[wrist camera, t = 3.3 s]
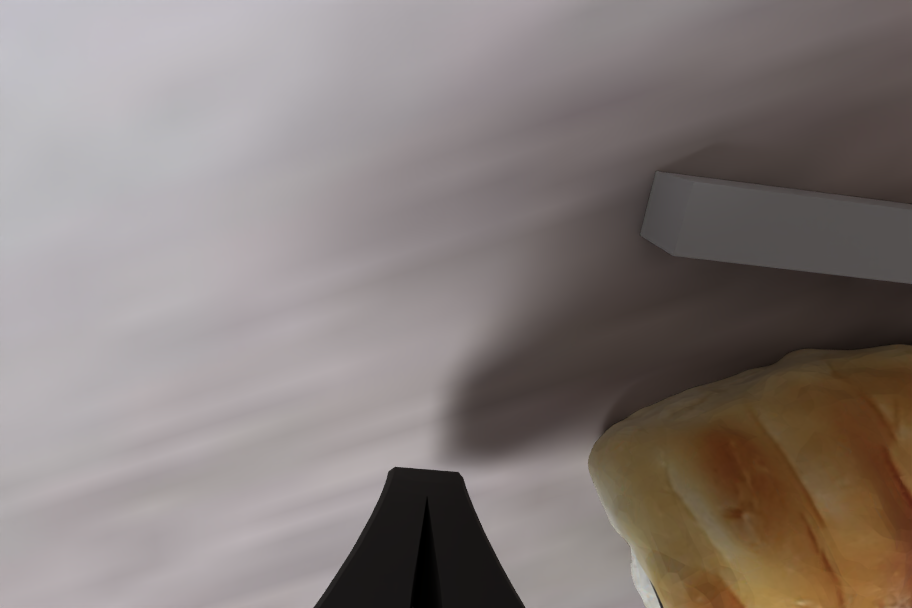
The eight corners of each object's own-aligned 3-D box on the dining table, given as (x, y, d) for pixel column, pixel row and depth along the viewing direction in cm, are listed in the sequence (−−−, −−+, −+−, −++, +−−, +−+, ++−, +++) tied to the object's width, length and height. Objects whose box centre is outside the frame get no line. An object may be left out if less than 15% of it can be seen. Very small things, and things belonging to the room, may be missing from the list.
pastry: (981, 234, 10) (1264, 302, 7) (1015, 476, 13) (1242, 621, 9) (552, 426, 12) (604, 567, 8) (653, 615, 14) (728, 791, 10)
